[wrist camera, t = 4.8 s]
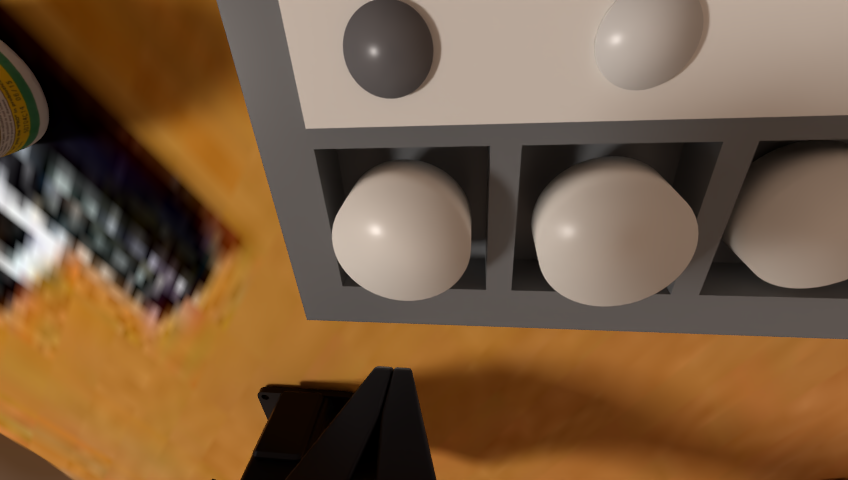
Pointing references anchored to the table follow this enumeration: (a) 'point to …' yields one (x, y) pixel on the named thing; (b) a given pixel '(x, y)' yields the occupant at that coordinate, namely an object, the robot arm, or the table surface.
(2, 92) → the supplement bottle
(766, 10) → the board
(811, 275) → the button
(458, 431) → the table surface
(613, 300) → the button
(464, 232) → the button
